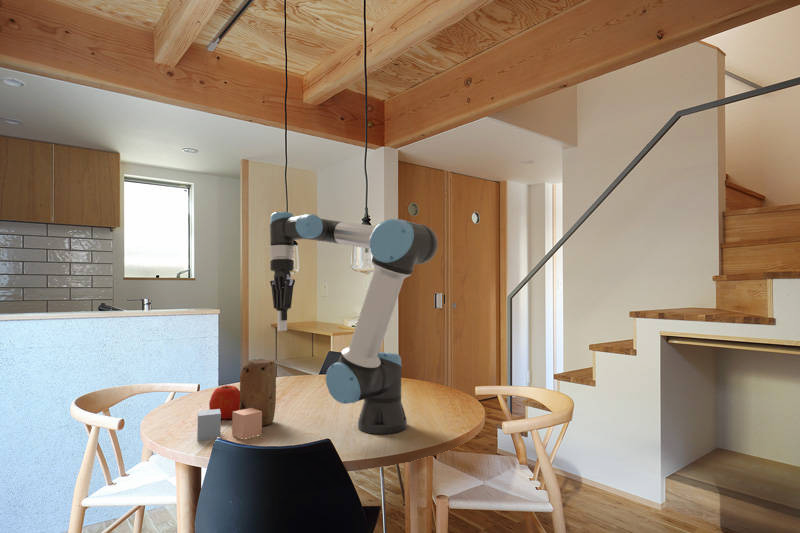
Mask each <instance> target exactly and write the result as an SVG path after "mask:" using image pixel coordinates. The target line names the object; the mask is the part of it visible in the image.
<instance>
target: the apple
mask: <svg viewBox="0 0 800 533" xmlns="http://www.w3.org/2000/svg"><path fill="white" fill-rule="evenodd" d="M208 406H209V409H208V410H213V409H220V412H221V420H226V419H228V420H232V412H234V411H238V410H240V408H239V407H240V388H239V387H237V386H233V385H222V386H219V387H216V388H215V389H214V391H213V392H212V394H211V396H210V400H209V404H208Z"/></svg>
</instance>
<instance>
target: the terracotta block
mask: <svg viewBox="0 0 800 533" xmlns="http://www.w3.org/2000/svg"><path fill="white" fill-rule="evenodd" d="M231 422H232V423H231V424H232V425H231V436H232V435H233V436H232V437H234V436H236V437H239V438H242V439H245V438H249V437H252V436H257V435H261V434H262V432H263V431H262V429H263V426H262V411H260V410H256V409H253V408H248V409H243V410H238V411H234V412H232V419H231ZM261 436H262V435H261ZM236 437H235V438H236ZM257 437H258V436H257ZM239 438H238V439H239Z"/></svg>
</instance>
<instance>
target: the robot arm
mask: <svg viewBox="0 0 800 533" xmlns="http://www.w3.org/2000/svg"><path fill="white" fill-rule="evenodd" d="M269 227H270V228H269V231H270V233H269V234H270V244H269V245H270V246H269V249H270V250H269V251H270V252H269V257H270V259H271V260H270V263H269V264H270V267H269V268H270V271H271V272H274V275H273V280H270V282H269V284H270V288H271V295H272V303H273V309H276V311H277V317H276V318H277V331H278V332H282V331H288V311H289V309H292V301H293V292H294V285H295V283H296V281H295V280H296V279H293V278H291V272H294V269H295V268H294V266H295V264H294V262H295V261H294V259H293V258H294V252H295V250H294V245H295V244H294V243H295V242H294V241H296V240H297V241H298V240H308V241H317V242H325V243H331V244H337V245H339V244H340V245H345V246H351V247H357V248H362V249H369V250H370V253H371V255H372V258H371V261H370V262H371V264H372V266H373V268H374V270H373V272H372V276H371V279H370V282H369V286H368V289H367V291H366V295H365V297H364V301H363V303H362V307H361V309H360V312H359V316H358V318H357V322H356V325H355V328H354V331H353V334H352V337H351V340H350V343H349V346H347V347H345V348H342V351H341V354H340V357H339V360H338V361H337V362H334V363H333V364H330V366H329V367H328V369H327V371H326V374H325V383H326V387H327V389H328V392H329V394H330V396H331V397H332V399H334V400H335V401H336V402H338V403H341V404H343V405H345V404H346V405H347V404H355V403H357V402H359V401H363V404H362V408H361V410H360V414H359V417H358V419H357V422H358V423H357V428H358V430H360V431H362V432H364V433H368V434H375V435H387V434H396V433H400V432H403V431H405V430H406V429H407V427H408V420H407V415H406V413H405V409H404V406H403V402H402V368H403V366H402V358H401V355H400V354H398V353H395V352H393V353H392V352H386V351H385V352H382V351H381V348H382V345H383V341H384V339H385V336H386V333H387V331H388V327H389V324H390V322H391V318H392V316H393V312H394V309H395V306H396V303H397V301H398V298H399V296H400V292H401V289H402V286H403V283H404V280H405V279H406V278H408V277H410V276H411V275H412V274H413V272H414V269H415V265H422V264H426V263H428V262H429V261H431V260H432V259H433V258H434V257H435V255H436V254H437V252H438V247H439V242H438V237H437V235H436V233H435V232H434V231H433V229H432V228H430V227H429V226H427V225H425V224H421V223H417V222H413V221H407V220H405V219H401V218H398V219H397V218H396V219H395V218H389V219H385V220H384V221H382V222H379V224H377V225H372V224H371V225H370V224H362V223H354V222H345V221H339V220H333V219H332V220H331V219H327V218H326V219H325V218H320V216H318V215H317V214H314V213H311V214H308V213H305V214H301V215H296V216H294V214H293V213H292V212H289V211H288V212H287V211H275V212H273V213H272V214H271V215H270V224H269Z"/></svg>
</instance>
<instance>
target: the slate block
mask: <svg viewBox="0 0 800 533" xmlns="http://www.w3.org/2000/svg"><path fill="white" fill-rule="evenodd" d="M221 420H222V419H221V412H220V409H213V410H210V409H204V410H198V411H197V433H196V435H197V442H201V441H209V440H216V439H215V438H217V437H220V438H221V428H222V425H221V423H222V422H221Z"/></svg>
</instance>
